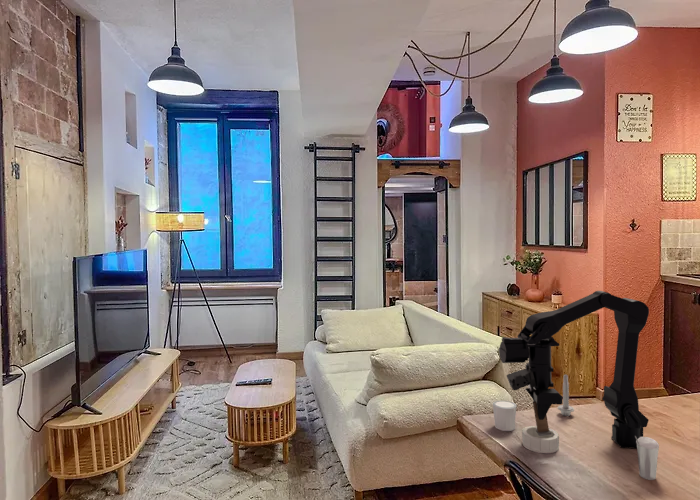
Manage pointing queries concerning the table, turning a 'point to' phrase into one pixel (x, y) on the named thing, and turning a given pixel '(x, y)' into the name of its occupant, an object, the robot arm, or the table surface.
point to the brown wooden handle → (541, 423)
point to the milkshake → (647, 457)
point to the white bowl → (540, 440)
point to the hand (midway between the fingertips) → (540, 418)
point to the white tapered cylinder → (504, 415)
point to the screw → (565, 399)
